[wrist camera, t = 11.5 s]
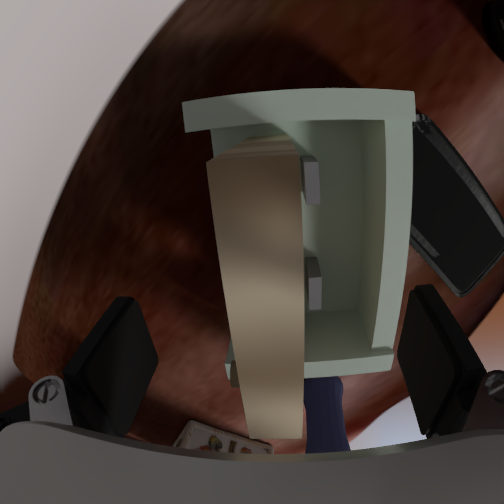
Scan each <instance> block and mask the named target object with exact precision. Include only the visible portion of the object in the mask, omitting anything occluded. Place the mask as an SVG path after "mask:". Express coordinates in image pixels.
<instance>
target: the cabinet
mask: <svg viewBox="0 0 504 504" xmlns="http://www.w3.org/2000/svg"><path fill="white" fill-rule="evenodd" d="M182 108H183V117H184V125H185V133H186V132H193V131H200V130H207V129H210V130H211V138H212V147H213V155H214V157H216V156H218V155H219V154H221V153H223V152H224V151H226V150H228V149H229V148H231V147H233V146H235V145H236V144H238V143H240V142H242V141H243V140H245V139H247V138H249V137H256V136H269V135H284V134H288V136H289V137H290V139H291V141H292V143H293V145H294V147H295V149H296V151H297V153H298V155H299V166H300V183H301V202H302V225H303V255H304V378H316V377H330V376H342V375H353V374H363V373H372V372H380V371H387V370H391V366H392V361H393V357H394V352H393V350H392V349H393V344H394V339H395V334H396V329H397V324H398V318H399V313H400V307H401V301H402V295H403V288H404V281H405V273H406V265H407V257H408V247H409V237H410V224H411V209H412V186H413V133H412V121H414V122H416V112H415V97H414V92H413V91H401V90H387V89H364V88H312V89H289V90H274V91H262V92H251V93H242V94H233V95H226V96H218V97H211V98H205V99H198V100H192V101H186V102H182ZM232 360H235V356H234V350H233V344H232V338H231V339H230V344H229V348H228V353H227V357H226V362H225V367H226V371H227V376H228V379H229V380H230V366H231V362H232Z"/></svg>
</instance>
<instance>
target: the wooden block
mask: <svg viewBox="0 0 504 504" xmlns="http://www.w3.org/2000/svg"><path fill="white" fill-rule="evenodd" d="M206 168H207V176H208V183H209V191H210V199H211V206H212V214H213V221H214V228H215V235H216V242H217V249H218V256H219V263H220V270H221V276H222V283H223V289H224V295H225V302H226V308H227V314H228V320H229V326H230V332H231V338H232V344H233V350H234V356H235V360H232V362H231V366H230V383H231V386H232V387H240V390H241V395H242V400H243V406H244V411H245V416H246V422H247V427H248V432H249V437H250V439H293V438H302V424H303V396H304V255H303V225H302V202H301V183H300V166H299V155H298V153H297V151H296V149H295V147H294V145H293V143H292V141H291V139H290V137H289V136H288V134H284V135H269V136H256V137H249V138H247V139H245V140H243V141H242V142H240V143H238V144H236V145H235V146H233V147H231V148H229V149H228V150H226V151H224V152H223V153H221V154H219V155H218V156H216V157H214V158H213V159H211V160H209V161H208V162H206Z"/></svg>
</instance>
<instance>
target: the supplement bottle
mask: <svg viewBox="0 0 504 504" xmlns="http://www.w3.org/2000/svg"><path fill="white" fill-rule="evenodd" d="M483 26H484V30H485V33H486V35H487V38H488V40H489V42H490V44H491V46H492V47H493V49H494V51H495V52H496V53H497V55H498V56H499V57H500V58H501V59H502V60H503V61H504V0H490V1H488V2H487V4H486V5H485V7H484V9H483Z"/></svg>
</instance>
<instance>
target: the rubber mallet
mask: <svg viewBox="0 0 504 504" xmlns="http://www.w3.org/2000/svg"><path fill="white" fill-rule="evenodd" d="M342 394H343V383H342V381H341V379H340V378H339V377H338V376H330V377H316V378H306V380H305V381H304V396H303V402H304V405H305V409H306V421H307V445H306V452H305V454H311V453H328V452H341V451H351V450H350V446H349V443H348V440H347V436H346V432H345V424H344V417H343V409H342Z"/></svg>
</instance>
